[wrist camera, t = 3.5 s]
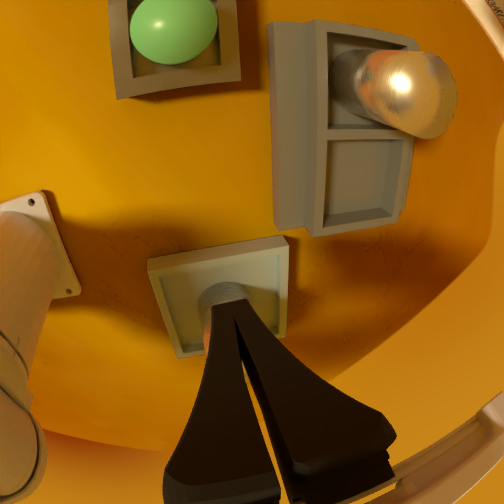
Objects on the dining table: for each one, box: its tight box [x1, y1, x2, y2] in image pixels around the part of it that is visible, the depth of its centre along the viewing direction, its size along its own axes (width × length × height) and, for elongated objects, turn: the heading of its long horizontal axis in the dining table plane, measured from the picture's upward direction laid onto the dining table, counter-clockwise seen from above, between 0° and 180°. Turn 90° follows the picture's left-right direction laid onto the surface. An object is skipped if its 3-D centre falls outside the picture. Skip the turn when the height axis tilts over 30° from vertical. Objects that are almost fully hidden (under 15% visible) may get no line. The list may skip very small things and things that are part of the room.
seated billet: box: [328, 49, 457, 139], centre depth 12 cm, size 4×4×6 cm
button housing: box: [108, 0, 241, 100], centre depth 12 cm, size 6×6×2 cm
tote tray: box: [147, 235, 289, 359], centre depth 22 cm, size 9×9×1 cm
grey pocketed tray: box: [267, 20, 419, 238], centre depth 16 cm, size 10×13×3 cm
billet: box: [197, 282, 257, 384], centre depth 20 cm, size 4×4×6 cm
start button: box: [130, 0, 218, 66], centre depth 10 cm, size 4×4×3 cm
